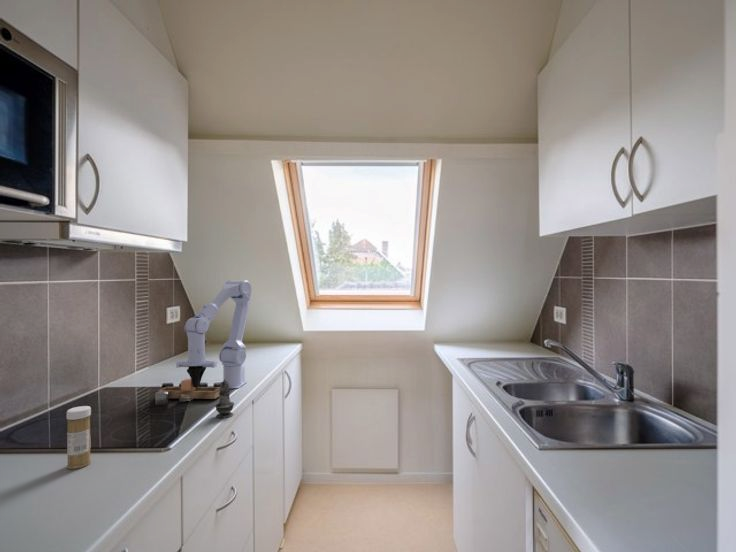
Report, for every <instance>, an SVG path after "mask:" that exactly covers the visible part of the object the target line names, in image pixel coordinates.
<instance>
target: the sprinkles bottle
mask: <svg viewBox="0 0 736 552" xmlns="http://www.w3.org/2000/svg"><path fill="white" fill-rule="evenodd" d="M91 415H92V407H91V406H90V405H89V406H88V405H82V406H75V407H71V408H69V409H67V411H66V421H67V432H66V436H67V437H66V438H67V439H66V440H67V441H66V443H67V445H66V446H67V448H66V450H67V451H66V452H67V465H66V468H67V469H68V470H78V469H82V468H85V467H87V466H88V465H90V464H91V461H92V459H91V447H92V446H91V445H92V444H91V443H92V442H91Z"/></svg>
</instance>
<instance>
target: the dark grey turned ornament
mask: <svg viewBox="0 0 736 552" xmlns="http://www.w3.org/2000/svg"><path fill="white" fill-rule="evenodd" d="M225 380H226V379H225V378H224V381H221V382H220V384H219V387H220V392H219V394H220V396H219V401H218V402H217V403H215V405H214V407H215V409H216V412H217V413H218V414H216V415H215V418H216V419H228V418H231V417H233V416H234V413H232V410H233V409H234V405H235V402H233V401H231V399H230V396H231V395H230V394H231V391H230V388H229V382H228V381H225Z"/></svg>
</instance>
